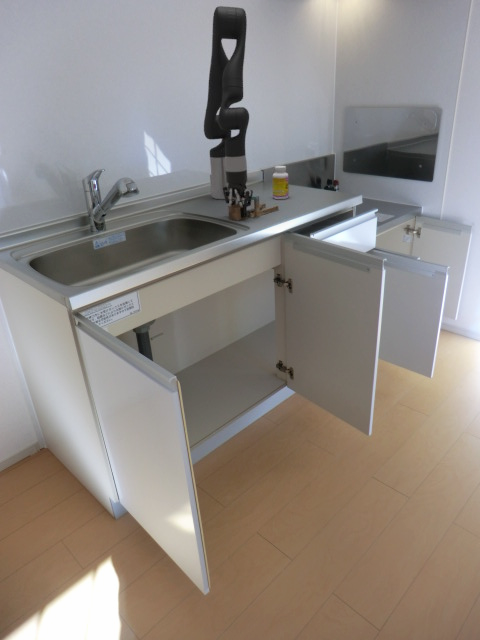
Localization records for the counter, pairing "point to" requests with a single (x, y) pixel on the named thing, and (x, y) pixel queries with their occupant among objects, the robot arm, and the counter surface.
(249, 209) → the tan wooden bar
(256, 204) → the rail channel with trap bar
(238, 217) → the walnut cube
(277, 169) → the supplement bottle
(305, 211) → the counter surface
